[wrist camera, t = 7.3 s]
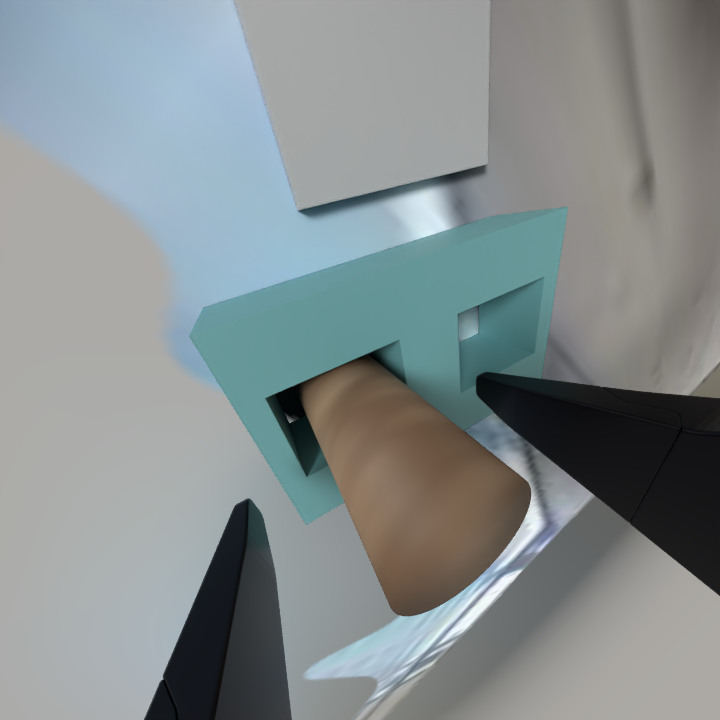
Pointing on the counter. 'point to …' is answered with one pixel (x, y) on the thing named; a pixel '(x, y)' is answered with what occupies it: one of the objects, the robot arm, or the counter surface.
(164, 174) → the counter surface
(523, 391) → the robot arm
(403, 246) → the hole block
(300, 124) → the rubber mat
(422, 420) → the walnut peg
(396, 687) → the counter surface
